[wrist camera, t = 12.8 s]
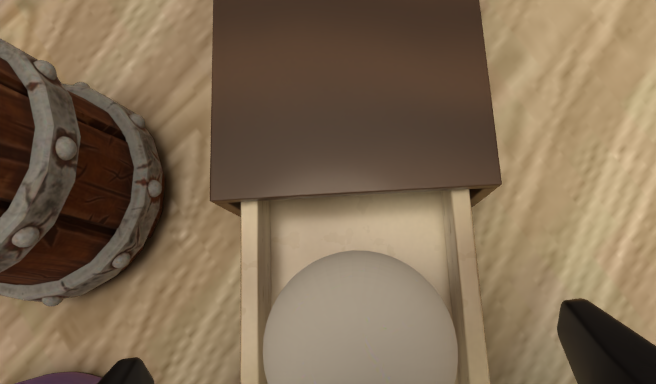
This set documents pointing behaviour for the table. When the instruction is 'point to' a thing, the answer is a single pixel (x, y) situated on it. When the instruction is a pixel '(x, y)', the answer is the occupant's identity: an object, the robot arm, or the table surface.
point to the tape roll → (64, 379)
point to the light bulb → (359, 325)
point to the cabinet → (349, 100)
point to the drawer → (363, 235)
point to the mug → (69, 183)
